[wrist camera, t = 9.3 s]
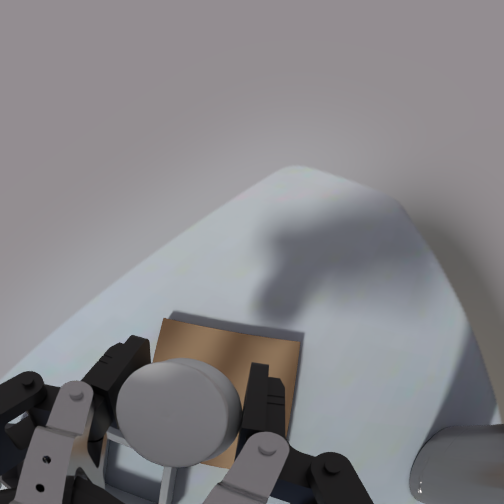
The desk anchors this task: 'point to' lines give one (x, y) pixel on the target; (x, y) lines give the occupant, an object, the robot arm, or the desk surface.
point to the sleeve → (130, 500)
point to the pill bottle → (179, 412)
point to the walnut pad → (230, 361)
